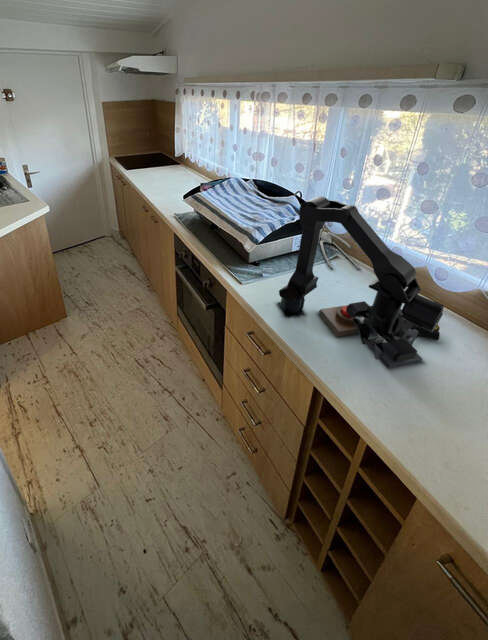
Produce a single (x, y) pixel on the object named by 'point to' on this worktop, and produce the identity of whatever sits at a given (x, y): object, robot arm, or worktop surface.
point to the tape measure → (427, 332)
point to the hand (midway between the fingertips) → (370, 351)
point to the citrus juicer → (326, 238)
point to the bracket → (410, 338)
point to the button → (345, 312)
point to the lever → (379, 340)
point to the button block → (338, 321)
